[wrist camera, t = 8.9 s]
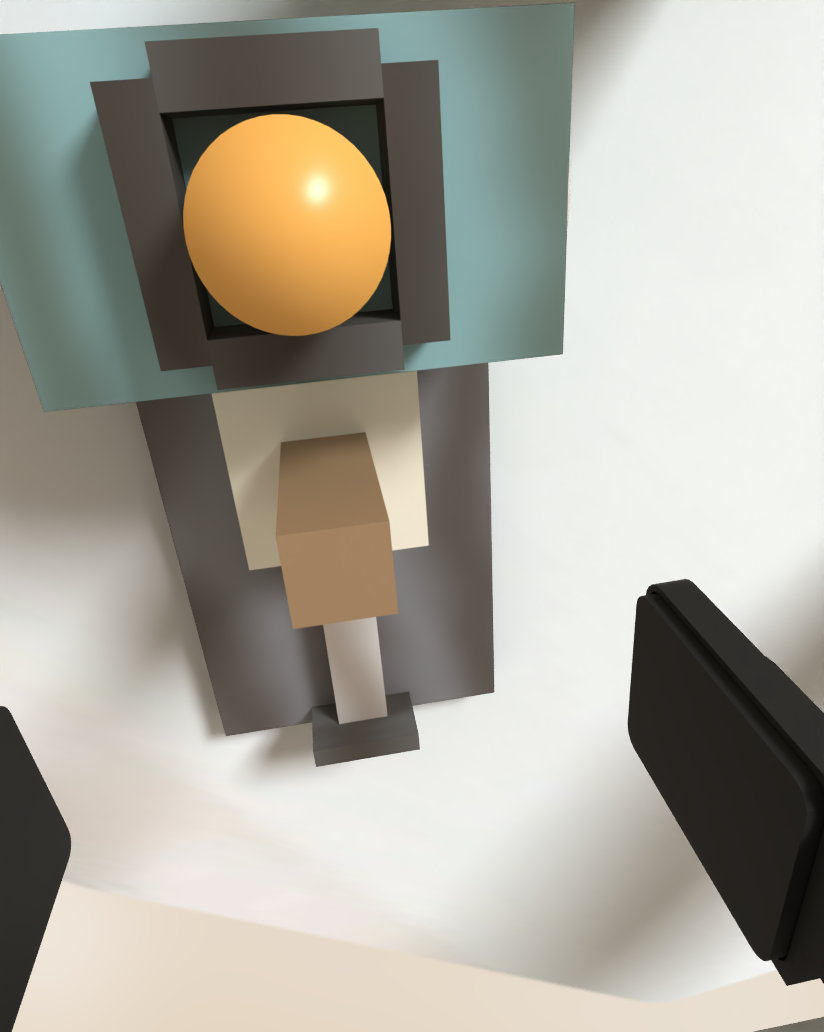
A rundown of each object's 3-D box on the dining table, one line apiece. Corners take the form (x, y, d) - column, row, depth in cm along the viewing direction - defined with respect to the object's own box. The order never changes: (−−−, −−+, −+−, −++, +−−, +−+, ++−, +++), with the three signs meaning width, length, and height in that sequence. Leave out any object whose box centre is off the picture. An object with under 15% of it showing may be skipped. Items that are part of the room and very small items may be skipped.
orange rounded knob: (370, 115, 14) (381, 106, 12) (387, 309, 16) (398, 325, 14) (177, 128, 14) (160, 122, 12) (217, 326, 16) (207, 345, 14)
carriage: (403, 348, 26) (460, 441, 17) (415, 507, 30) (468, 657, 20) (221, 367, 26) (179, 475, 16) (254, 529, 29) (234, 694, 20)
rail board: (494, 63, 24) (639, -17, 14) (501, 671, 37) (579, 861, 27) (65, 91, 23) (-125, 23, 12) (228, 715, 36) (201, 933, 25)
